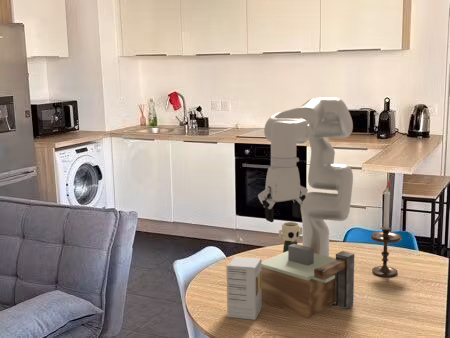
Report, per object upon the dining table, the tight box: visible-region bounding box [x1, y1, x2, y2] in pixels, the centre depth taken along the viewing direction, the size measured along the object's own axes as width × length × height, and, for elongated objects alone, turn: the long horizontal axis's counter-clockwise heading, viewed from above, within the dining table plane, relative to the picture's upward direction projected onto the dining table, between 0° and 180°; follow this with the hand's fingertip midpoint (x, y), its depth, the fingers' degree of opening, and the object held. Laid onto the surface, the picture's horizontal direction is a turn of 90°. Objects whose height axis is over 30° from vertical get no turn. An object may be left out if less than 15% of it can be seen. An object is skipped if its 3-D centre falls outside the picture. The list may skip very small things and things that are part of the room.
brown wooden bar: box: [314, 258, 346, 280], centre depth 174 cm, size 17×3×2 cm, turn 136°
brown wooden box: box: [261, 250, 355, 318], centre depth 183 cm, size 20×26×17 cm
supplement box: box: [225, 256, 263, 321], centre depth 175 cm, size 10×9×17 cm
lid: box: [261, 243, 336, 283], centre depth 182 cm, size 20×25×6 cm
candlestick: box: [370, 179, 402, 278], centre depth 205 cm, size 11×11×35 cm
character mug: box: [278, 221, 303, 253], centre depth 230 cm, size 11×7×13 cm, turn 115°
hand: (283, 219), depth 169 cm, fingers open, 9 cm apart
